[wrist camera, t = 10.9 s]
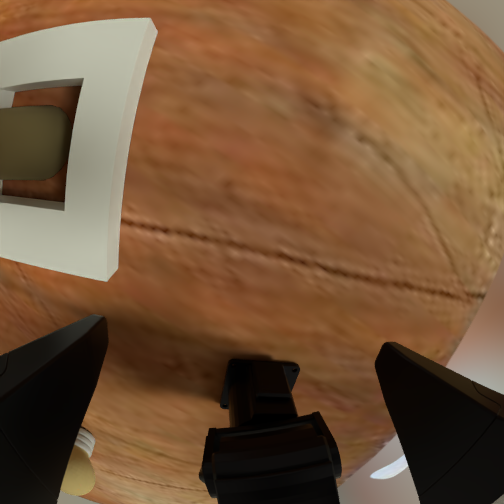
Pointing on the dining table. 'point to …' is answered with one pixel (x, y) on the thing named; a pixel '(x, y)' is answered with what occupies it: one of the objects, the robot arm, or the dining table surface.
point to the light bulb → (80, 466)
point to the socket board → (78, 141)
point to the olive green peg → (33, 142)
